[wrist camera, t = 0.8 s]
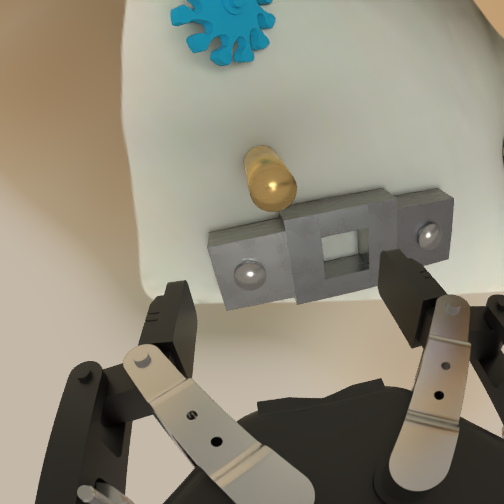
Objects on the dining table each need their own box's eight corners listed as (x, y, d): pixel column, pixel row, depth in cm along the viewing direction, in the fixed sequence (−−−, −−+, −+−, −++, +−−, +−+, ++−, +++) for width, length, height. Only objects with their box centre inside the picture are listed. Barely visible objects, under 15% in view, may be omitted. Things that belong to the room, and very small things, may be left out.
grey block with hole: (438, 179, 29) (457, 190, 26) (434, 253, 33) (449, 269, 30) (206, 223, 30) (203, 240, 27) (228, 300, 34) (229, 321, 31)
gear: (275, 76, 22) (170, 47, 15) (222, 80, 26) (122, 64, 19) (285, -34, 19) (196, -85, 11) (234, -20, 22) (146, -54, 15)
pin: (275, 142, 27) (292, 163, 20) (281, 175, 28) (299, 206, 21) (240, 149, 27) (245, 172, 20) (247, 182, 28) (254, 215, 21)
